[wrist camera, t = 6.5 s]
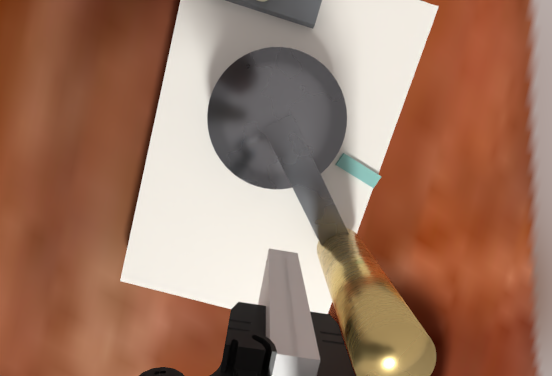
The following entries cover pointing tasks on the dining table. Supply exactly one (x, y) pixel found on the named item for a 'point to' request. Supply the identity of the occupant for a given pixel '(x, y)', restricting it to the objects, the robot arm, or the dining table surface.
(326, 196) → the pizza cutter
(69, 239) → the dining table surface
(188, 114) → the stand
